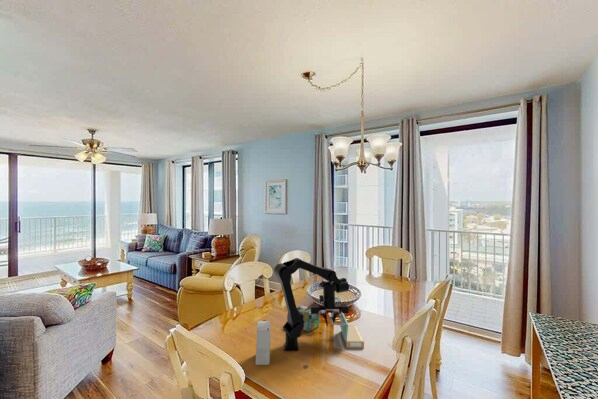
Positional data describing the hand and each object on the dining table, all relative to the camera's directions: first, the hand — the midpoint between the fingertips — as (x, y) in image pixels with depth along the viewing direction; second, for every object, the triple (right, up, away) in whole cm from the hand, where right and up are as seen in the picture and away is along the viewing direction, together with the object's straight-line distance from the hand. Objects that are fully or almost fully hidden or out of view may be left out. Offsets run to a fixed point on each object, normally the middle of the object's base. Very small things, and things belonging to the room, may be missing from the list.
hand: (329, 325), depth 132 cm
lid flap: (+7, 0, 0) cm, 7 cm away
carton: (+11, -7, 0) cm, 13 cm away
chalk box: (-16, -2, +17) cm, 23 cm away
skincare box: (-31, -6, -18) cm, 36 cm away
